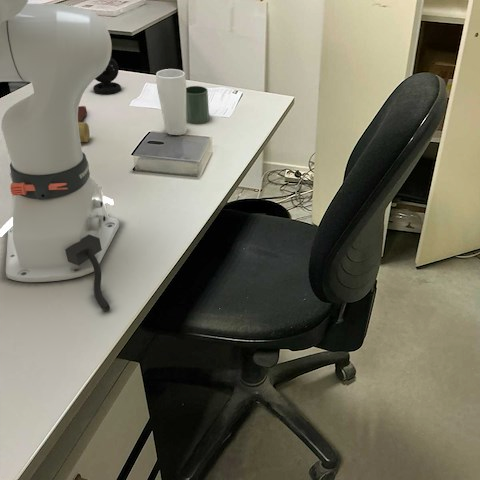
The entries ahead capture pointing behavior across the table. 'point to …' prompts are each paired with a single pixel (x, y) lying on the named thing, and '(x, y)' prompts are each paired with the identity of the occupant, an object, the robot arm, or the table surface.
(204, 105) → the tin
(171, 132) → the drinking glass
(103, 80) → the webcam
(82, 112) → the gavel
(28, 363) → the table surface
